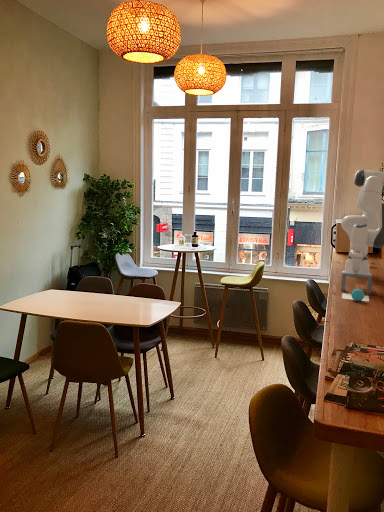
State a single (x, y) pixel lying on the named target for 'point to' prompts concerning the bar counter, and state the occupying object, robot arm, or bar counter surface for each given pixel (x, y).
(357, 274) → the bridge
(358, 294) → the ball
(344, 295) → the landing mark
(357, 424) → the bar counter surface
